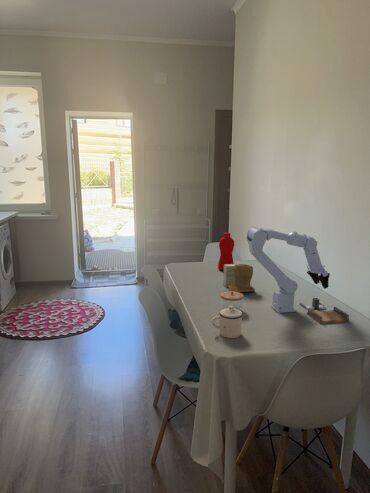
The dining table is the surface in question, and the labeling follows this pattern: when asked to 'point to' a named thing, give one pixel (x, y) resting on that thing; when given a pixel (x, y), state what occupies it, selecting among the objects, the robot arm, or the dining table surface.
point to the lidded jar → (231, 299)
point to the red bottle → (225, 251)
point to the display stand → (329, 316)
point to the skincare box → (228, 275)
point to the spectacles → (314, 305)
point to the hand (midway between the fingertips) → (321, 285)
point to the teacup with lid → (229, 322)
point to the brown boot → (242, 278)
